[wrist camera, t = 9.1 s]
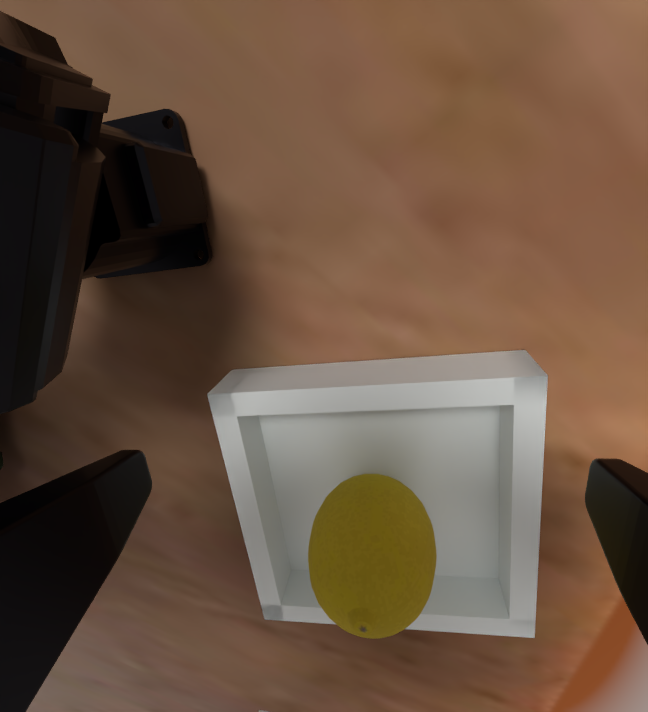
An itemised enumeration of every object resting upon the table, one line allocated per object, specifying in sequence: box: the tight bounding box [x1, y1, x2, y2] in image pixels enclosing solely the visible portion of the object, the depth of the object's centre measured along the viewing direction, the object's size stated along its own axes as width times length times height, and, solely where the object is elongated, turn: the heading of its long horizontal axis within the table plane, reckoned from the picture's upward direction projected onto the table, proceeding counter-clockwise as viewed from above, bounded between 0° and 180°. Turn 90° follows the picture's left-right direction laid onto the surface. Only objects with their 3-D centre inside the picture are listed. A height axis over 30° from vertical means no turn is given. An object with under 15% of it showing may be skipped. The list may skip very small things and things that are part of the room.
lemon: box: [308, 474, 437, 638], centre depth 18 cm, size 6×6×8 cm
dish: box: [207, 350, 548, 638], centre depth 21 cm, size 14×14×3 cm
